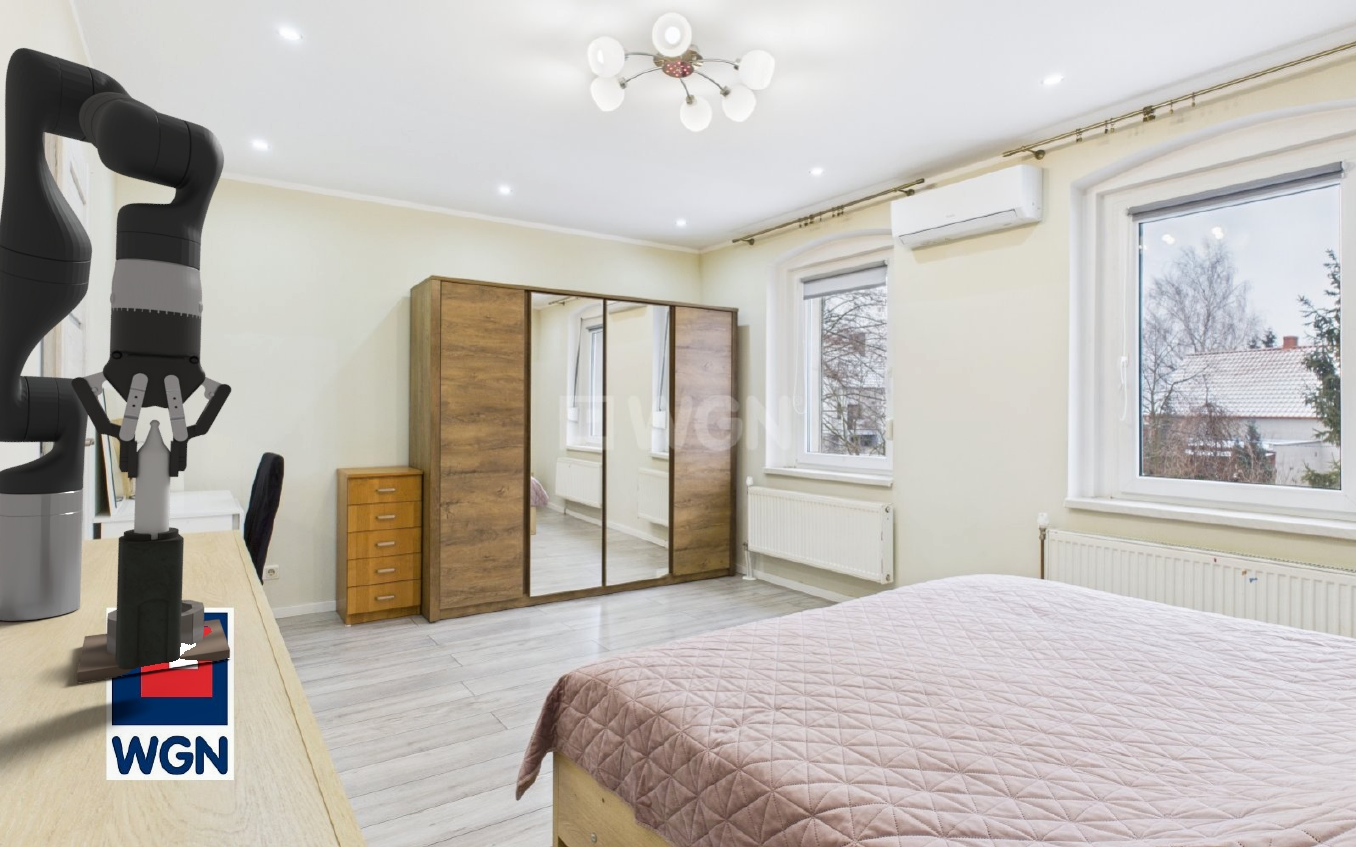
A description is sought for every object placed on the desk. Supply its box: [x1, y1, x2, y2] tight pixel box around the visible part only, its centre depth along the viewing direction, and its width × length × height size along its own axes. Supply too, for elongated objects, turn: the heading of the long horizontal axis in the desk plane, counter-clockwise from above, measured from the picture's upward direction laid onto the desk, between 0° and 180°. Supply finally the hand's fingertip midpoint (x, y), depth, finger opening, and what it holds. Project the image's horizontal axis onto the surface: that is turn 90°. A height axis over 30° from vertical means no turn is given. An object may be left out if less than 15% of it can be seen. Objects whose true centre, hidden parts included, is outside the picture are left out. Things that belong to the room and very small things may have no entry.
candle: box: [115, 419, 185, 670], centre depth 73 cm, size 5×5×25 cm
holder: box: [76, 599, 231, 684], centre depth 86 cm, size 14×14×5 cm
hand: (152, 475), depth 73 cm, fingers closed on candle, 3 cm apart
